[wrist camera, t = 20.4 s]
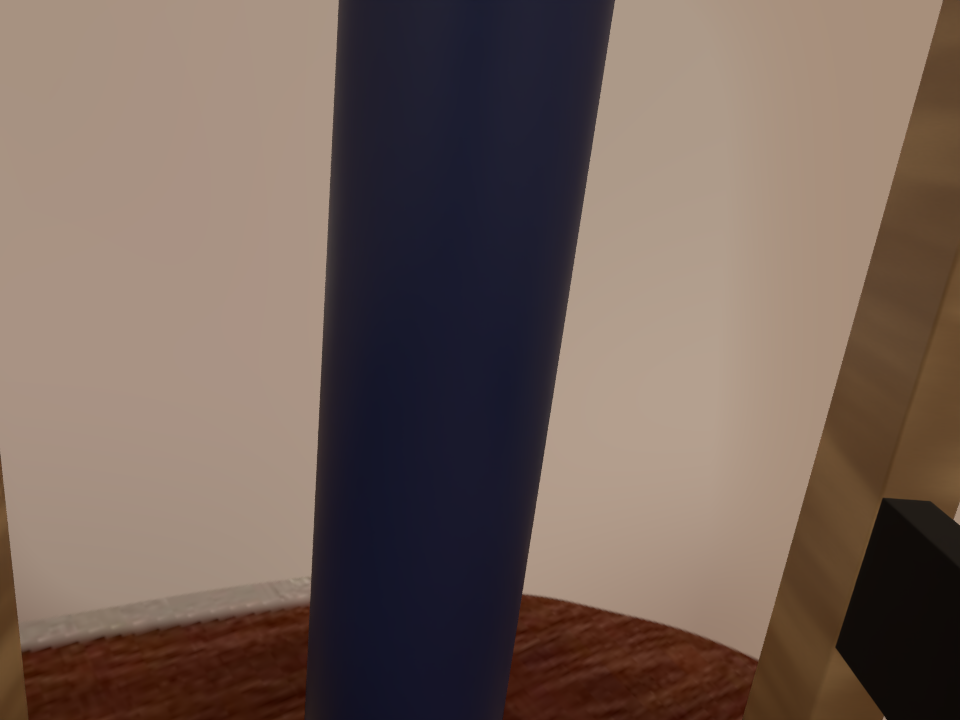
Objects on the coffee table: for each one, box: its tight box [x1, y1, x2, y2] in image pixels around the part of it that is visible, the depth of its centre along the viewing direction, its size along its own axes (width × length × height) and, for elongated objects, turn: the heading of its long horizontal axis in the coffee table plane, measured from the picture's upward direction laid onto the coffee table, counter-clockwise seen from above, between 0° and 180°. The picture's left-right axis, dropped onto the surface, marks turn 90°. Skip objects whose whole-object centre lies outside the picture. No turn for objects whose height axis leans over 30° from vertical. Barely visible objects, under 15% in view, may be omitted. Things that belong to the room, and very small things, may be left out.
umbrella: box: [305, 0, 615, 720], centre depth 16 cm, size 10×4×26 cm, turn 3°
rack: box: [0, 0, 960, 720], centre depth 18 cm, size 25×8×31 cm, turn 93°
